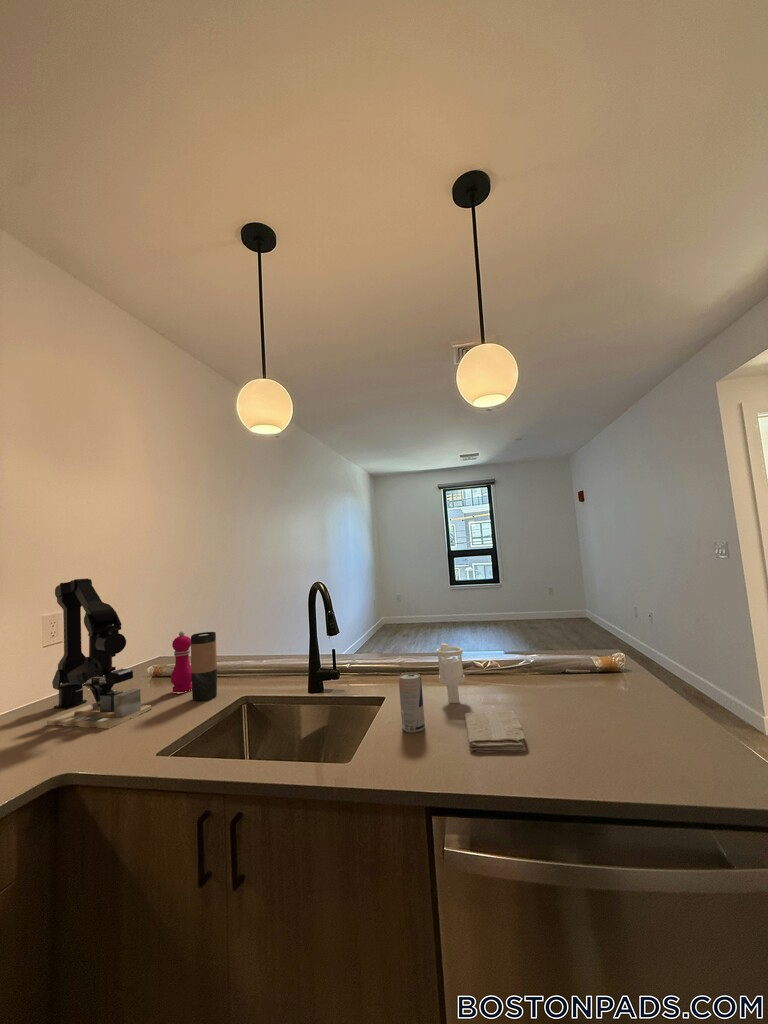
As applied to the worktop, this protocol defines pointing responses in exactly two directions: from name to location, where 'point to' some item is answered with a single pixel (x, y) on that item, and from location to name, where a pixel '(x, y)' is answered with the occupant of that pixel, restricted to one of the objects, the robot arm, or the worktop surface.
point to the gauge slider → (107, 701)
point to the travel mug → (203, 666)
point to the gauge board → (92, 717)
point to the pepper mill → (181, 664)
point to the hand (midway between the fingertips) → (100, 706)
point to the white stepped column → (450, 670)
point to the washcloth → (494, 732)
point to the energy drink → (411, 702)
